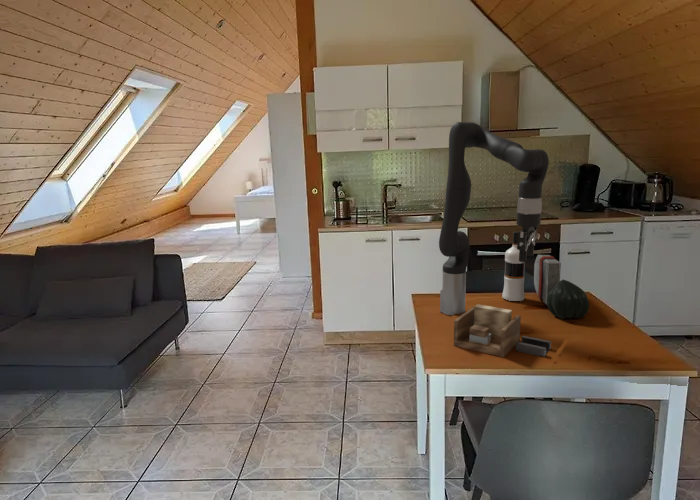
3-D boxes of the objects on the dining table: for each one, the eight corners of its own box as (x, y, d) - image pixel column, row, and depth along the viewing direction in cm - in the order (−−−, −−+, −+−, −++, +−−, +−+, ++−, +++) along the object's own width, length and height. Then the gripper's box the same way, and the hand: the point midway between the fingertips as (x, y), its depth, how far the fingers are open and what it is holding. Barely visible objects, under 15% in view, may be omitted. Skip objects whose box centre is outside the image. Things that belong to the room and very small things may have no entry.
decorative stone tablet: (562, 261, 194) (548, 251, 224) (545, 260, 196) (533, 251, 225) (560, 308, 197) (546, 292, 226) (543, 307, 198) (531, 291, 227)
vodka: (500, 301, 210) (503, 233, 204) (504, 294, 218) (507, 229, 212) (522, 303, 206) (526, 234, 200) (525, 297, 214) (529, 230, 208)
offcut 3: (468, 346, 162) (468, 340, 162) (473, 342, 165) (473, 336, 165) (485, 350, 158) (485, 344, 158) (490, 346, 162) (490, 340, 161)
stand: (515, 353, 158) (515, 343, 157) (522, 345, 164) (523, 335, 164) (543, 359, 153) (544, 349, 152) (550, 351, 159) (551, 341, 159)
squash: (594, 312, 178) (588, 275, 185) (550, 311, 182) (547, 275, 189) (586, 326, 190) (581, 291, 197) (545, 325, 194) (542, 291, 201)
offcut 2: (469, 340, 161) (469, 334, 161) (473, 336, 165) (473, 330, 164) (487, 344, 158) (487, 338, 158) (490, 340, 161) (491, 333, 161)
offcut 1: (469, 334, 161) (469, 328, 161) (474, 330, 164) (474, 324, 163) (484, 337, 158) (484, 331, 157) (488, 334, 161) (489, 328, 160)
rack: (453, 348, 163) (454, 320, 161) (472, 333, 176) (472, 306, 174) (503, 360, 154) (504, 330, 151) (519, 343, 166) (520, 315, 164)
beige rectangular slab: (473, 336, 171) (474, 306, 168) (476, 333, 173) (477, 304, 171) (507, 343, 164) (508, 312, 161) (510, 340, 166) (511, 310, 164)
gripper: (523, 207, 167) (521, 253, 171) (510, 213, 156) (508, 262, 160) (546, 209, 163) (543, 256, 167) (534, 215, 152) (531, 265, 155)
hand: (526, 258), depth 163 cm, fingers open, 8 cm apart
